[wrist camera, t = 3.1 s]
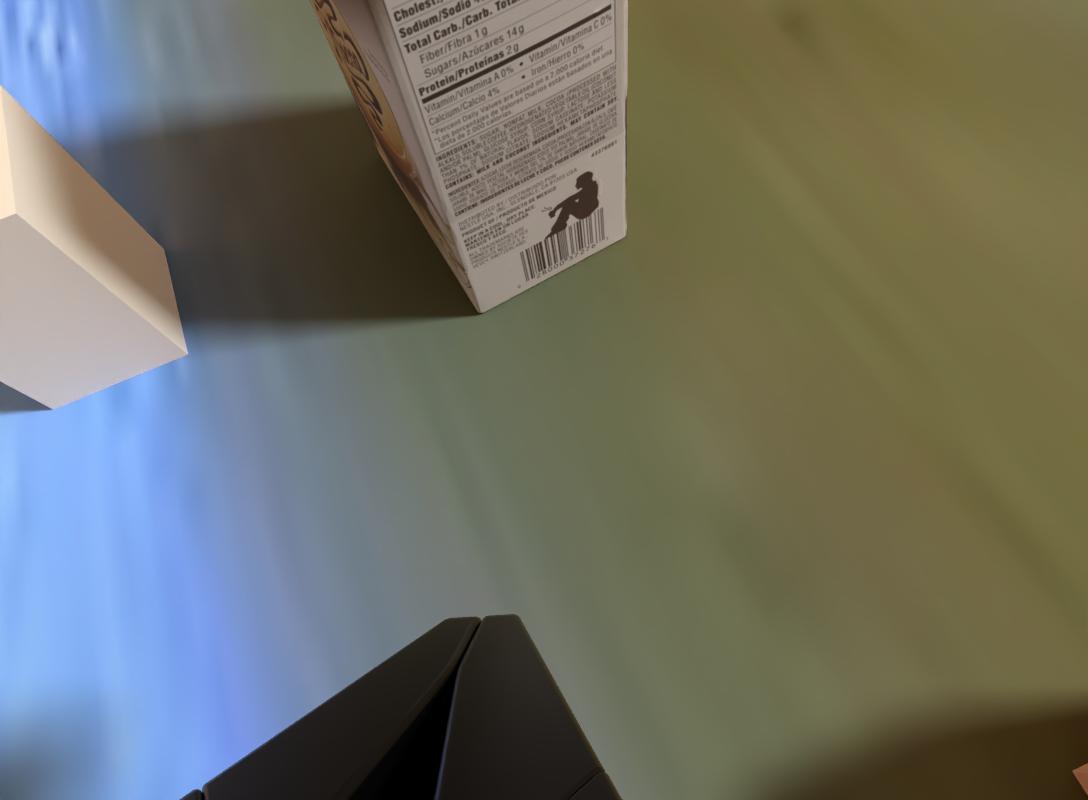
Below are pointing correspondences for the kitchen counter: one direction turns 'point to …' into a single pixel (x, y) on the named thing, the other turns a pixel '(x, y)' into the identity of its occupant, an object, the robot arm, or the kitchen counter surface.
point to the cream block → (73, 275)
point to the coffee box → (496, 126)
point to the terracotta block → (1082, 776)
